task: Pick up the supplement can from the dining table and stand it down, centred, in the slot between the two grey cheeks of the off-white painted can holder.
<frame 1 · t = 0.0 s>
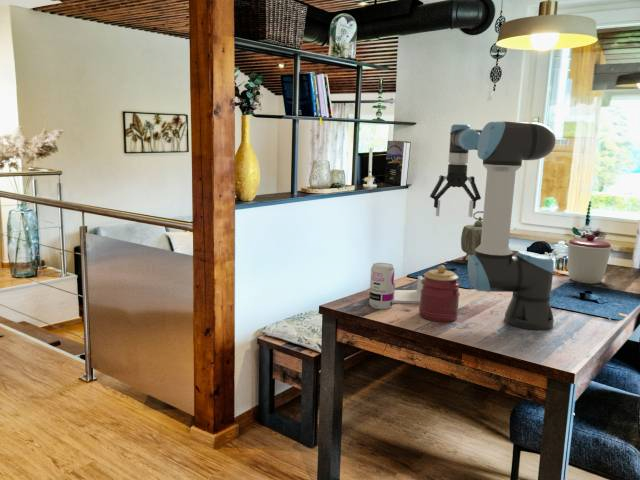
hand: (453, 216, 227), 28 cm above the table, tool pointing down, fingers open, 13 cm apart
can holder: (405, 297, 208), on the table
canister 2: (438, 316, 188), on the table
tabletop clock: (476, 262, 274), on the table
supplement can: (380, 306, 197), on the table
canister: (584, 281, 242), on the table
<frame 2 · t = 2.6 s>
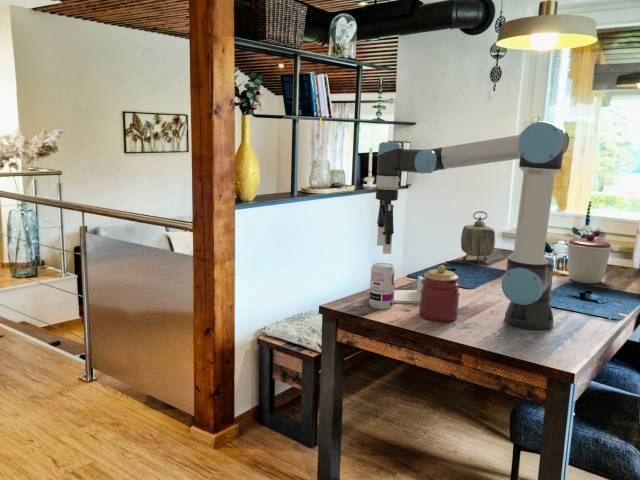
hand: (383, 249, 193), 21 cm above the table, tool pointing down, fingers open, 13 cm apart
nothing on the table moved.
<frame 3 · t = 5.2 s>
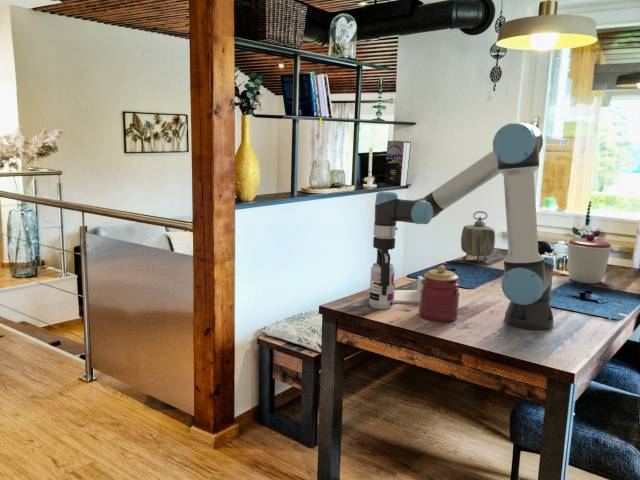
hand: (381, 300, 196), 2 cm above the table, tool pointing down, fingers closed on supplement can, 8 cm apart
supplement can: (380, 306, 197), on the table, touching gripper
everything else where it was.
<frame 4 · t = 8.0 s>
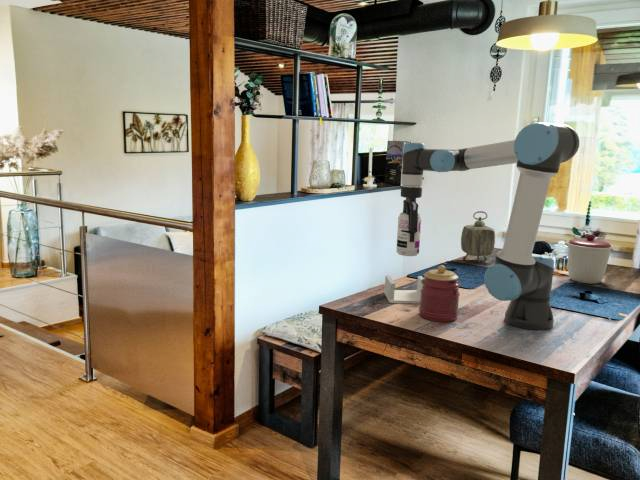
hand: (408, 248, 204), 19 cm above the table, tool pointing down, fingers closed on supplement can, 8 cm apart
supplement can: (407, 254, 204), point 17 cm above the table, touching gripper
everything else where it was.
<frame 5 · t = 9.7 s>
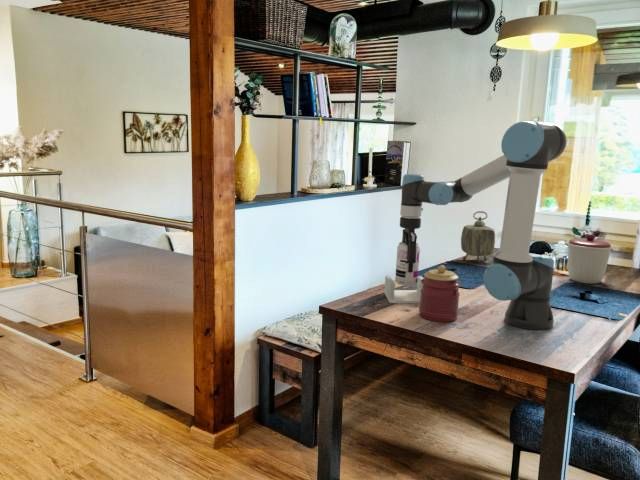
hand: (406, 277, 207), 8 cm above the table, tool pointing down, fingers closed on supplement can, 8 cm apart
supplement can: (406, 283, 207), point 5 cm above the table, touching gripper
everything else where it was.
when the fingers open (5 cm above the table, at t = 11.1 s): supplement can drops 1 cm, resting on can holder.
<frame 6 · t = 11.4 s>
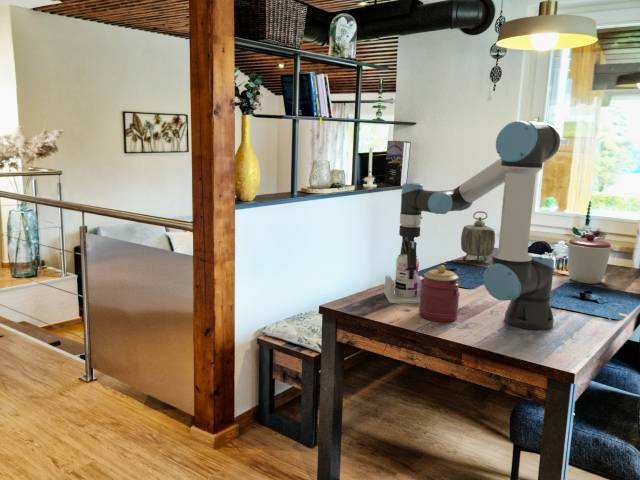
hand: (406, 283, 207), 6 cm above the table, tool pointing down, fingers open, 11 cm apart
supplement can: (405, 295, 208), point 1 cm above the table, touching can holder
everything else where it was.
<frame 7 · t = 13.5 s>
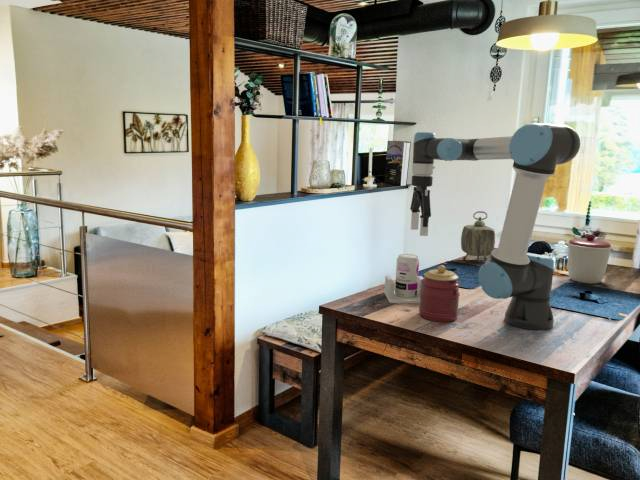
hand: (418, 232, 207), 24 cm above the table, tool pointing down, fingers open, 13 cm apart
nothing on the table moved.
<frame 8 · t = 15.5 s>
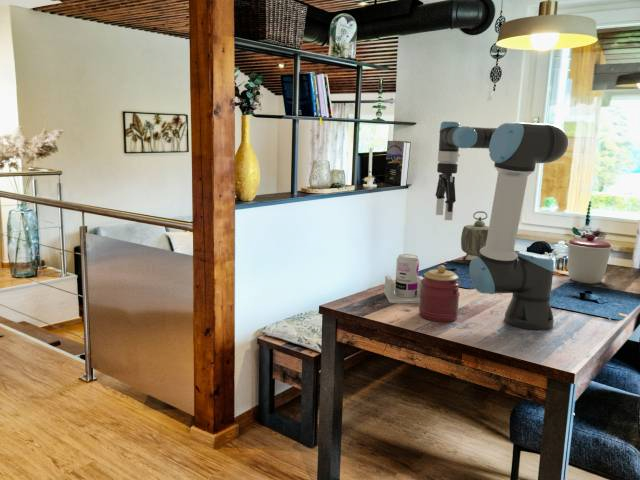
hand: (443, 217, 217), 29 cm above the table, tool pointing down, fingers open, 13 cm apart
nothing on the table moved.
at the end: supplement can 0.1 cm off-centre on the can holder, point 0.8 cm above the can holder's base; supplement can tilted 0°; the gripper is holding nothing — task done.
